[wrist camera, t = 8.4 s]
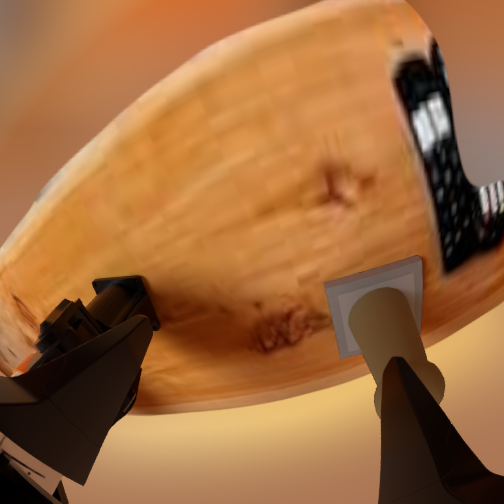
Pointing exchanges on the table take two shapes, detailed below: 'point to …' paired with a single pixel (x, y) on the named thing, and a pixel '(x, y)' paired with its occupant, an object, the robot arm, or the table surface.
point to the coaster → (355, 286)
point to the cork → (391, 339)
